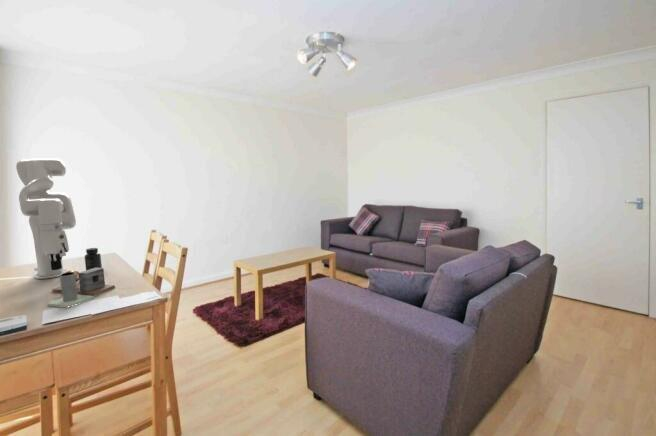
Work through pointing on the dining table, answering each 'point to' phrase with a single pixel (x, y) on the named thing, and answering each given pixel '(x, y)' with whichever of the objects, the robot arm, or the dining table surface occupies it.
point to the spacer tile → (69, 303)
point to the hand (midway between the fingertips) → (56, 269)
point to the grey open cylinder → (68, 286)
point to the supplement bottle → (92, 259)
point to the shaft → (75, 275)
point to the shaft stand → (90, 283)
